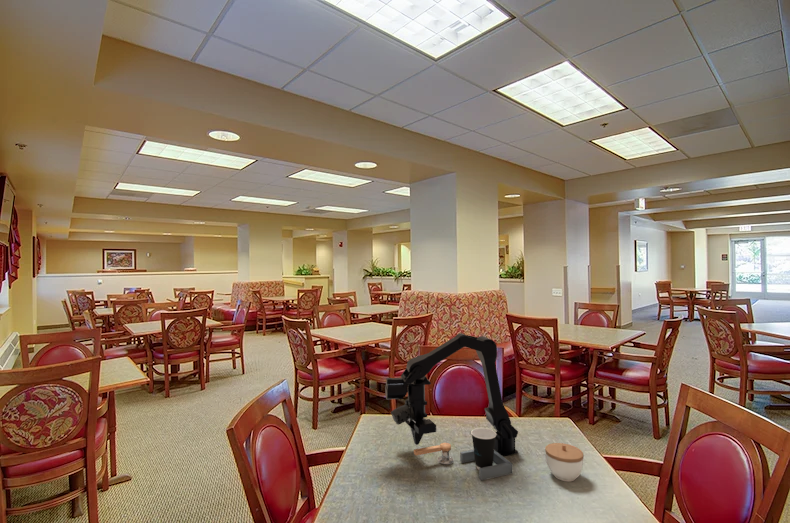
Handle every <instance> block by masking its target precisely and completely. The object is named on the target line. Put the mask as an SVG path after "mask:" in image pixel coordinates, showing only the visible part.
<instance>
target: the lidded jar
mask: <svg viewBox="0 0 790 523" xmlns="http://www.w3.org/2000/svg"><path fill="white" fill-rule="evenodd" d="M544 448H545V449H544V452H545V461H546V465H547V467H548V469H549V471H550V473H551V474H552V475H553V476H554V478H556V479H557V480H559V481H562V482H567V483H568V482H574V481H575V480H576V479H577V478H579V476H580V475H581V473H582V471H583V468H584V452H583V451H582V450H581V449H580V448H578V447H576V446H574V445H572V444H568V443H563V442H551V443H549V444H547V445H546V446H545V447H544Z"/></svg>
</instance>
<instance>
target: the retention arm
mask: <svg viewBox="0 0 790 523" xmlns="http://www.w3.org/2000/svg"><path fill="white" fill-rule="evenodd" d="M451 450H452V445H451V443H448V442H441V443H440V444H437V445H433V446H432V445H431V446H427V447H421V448H415V449H414V448H413V454H414V455H415V456H421V455H427V454H432V453H436V452H442V451H449V452H450V451H451Z"/></svg>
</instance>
